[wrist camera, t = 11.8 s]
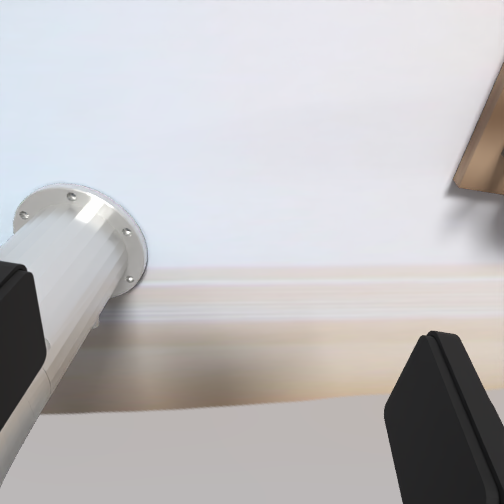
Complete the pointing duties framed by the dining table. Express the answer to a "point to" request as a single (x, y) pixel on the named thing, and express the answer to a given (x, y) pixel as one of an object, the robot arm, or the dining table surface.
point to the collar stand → (486, 147)
